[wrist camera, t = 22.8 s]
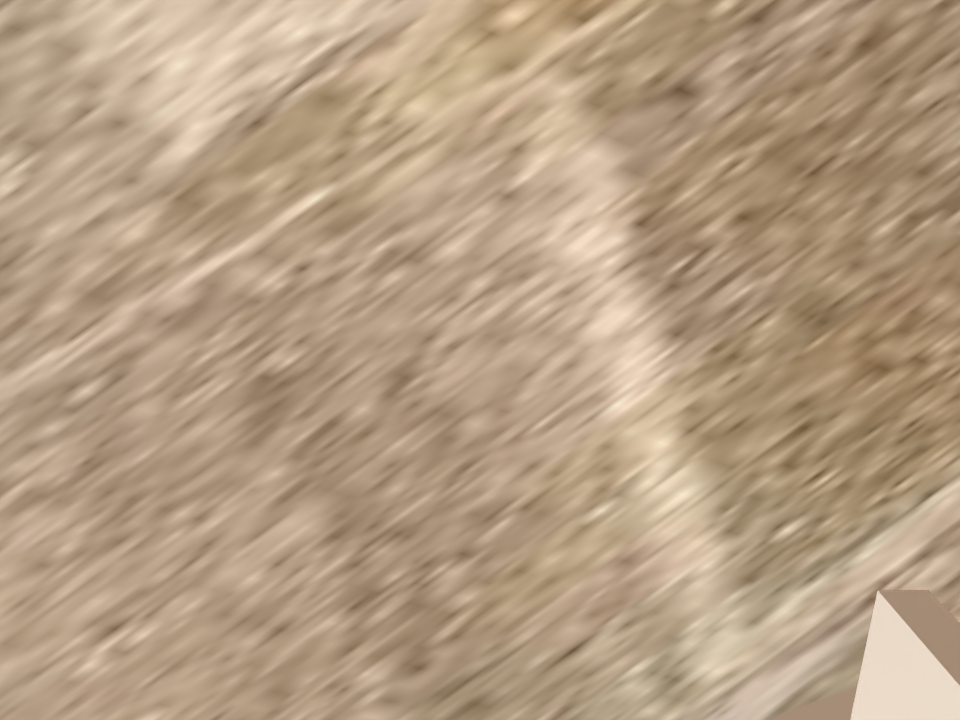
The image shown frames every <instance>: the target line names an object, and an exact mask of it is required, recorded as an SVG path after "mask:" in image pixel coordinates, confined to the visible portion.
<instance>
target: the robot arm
mask: <svg viewBox="0 0 960 720" xmlns="http://www.w3.org/2000/svg"><path fill="white" fill-rule="evenodd" d="M850 720H960V623H959V622H958V621H957V620H956V619H955V618H954V616H953V615H952V614H951V613H950V612H949V611H948V610H947V609H946V608H945V607H944V606H943V605H942V604H941V603H940V602H939V601H938V600H937V599H936V598H935V597H934V596H933V595H932V594H931V592H930V591H929V590H878V592H877V597H876V601H875V606H874V611H873V616H872V620H871V625H870V630H869V635H868V639H867V644H866V649H865V653H864V658H863V663H862V668H861V672H860V677H859V682H858V686H857V691H856V696H855V701H854V705H853V710H852V715H851V719H850Z"/></svg>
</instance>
